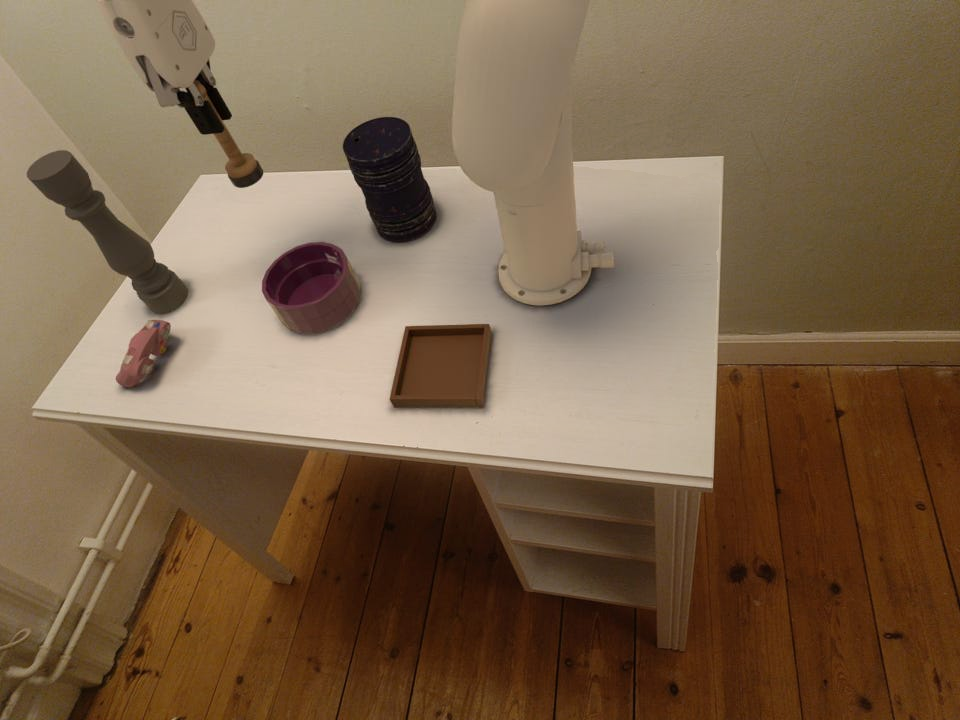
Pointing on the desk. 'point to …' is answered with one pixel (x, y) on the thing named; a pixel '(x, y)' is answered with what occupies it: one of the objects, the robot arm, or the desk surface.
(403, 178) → the storage jar
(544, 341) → the desk surface
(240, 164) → the brush
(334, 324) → the bowl
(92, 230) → the candle holder
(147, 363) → the pink toy
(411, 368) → the tray
